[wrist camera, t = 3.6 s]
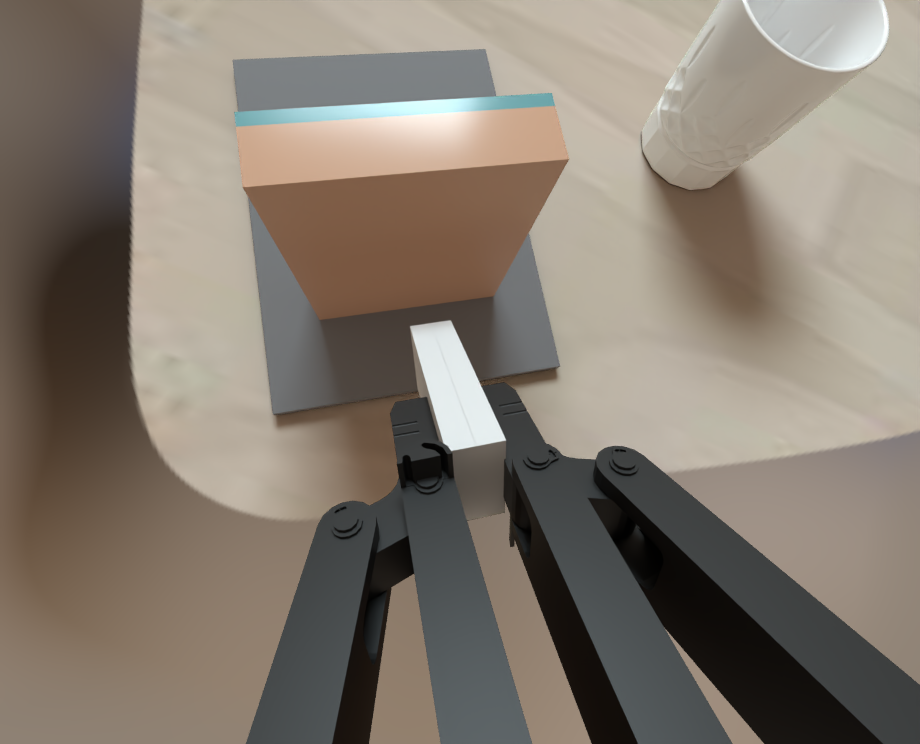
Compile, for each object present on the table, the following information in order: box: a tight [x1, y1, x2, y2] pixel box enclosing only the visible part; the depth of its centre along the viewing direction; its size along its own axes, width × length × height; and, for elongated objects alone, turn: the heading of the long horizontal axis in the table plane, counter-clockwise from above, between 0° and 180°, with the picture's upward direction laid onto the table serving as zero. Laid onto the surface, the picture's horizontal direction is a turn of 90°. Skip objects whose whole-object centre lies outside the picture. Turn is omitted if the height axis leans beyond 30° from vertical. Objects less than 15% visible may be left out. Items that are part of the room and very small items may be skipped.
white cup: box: [642, 0, 889, 190], centre depth 26 cm, size 8×8×10 cm
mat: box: [233, 49, 560, 415], centre depth 26 cm, size 22×16×1 cm
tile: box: [234, 93, 569, 320], centre depth 19 cm, size 2×10×12 cm, turn 101°
